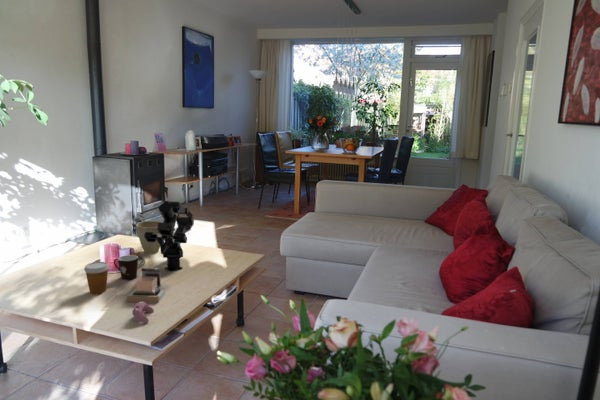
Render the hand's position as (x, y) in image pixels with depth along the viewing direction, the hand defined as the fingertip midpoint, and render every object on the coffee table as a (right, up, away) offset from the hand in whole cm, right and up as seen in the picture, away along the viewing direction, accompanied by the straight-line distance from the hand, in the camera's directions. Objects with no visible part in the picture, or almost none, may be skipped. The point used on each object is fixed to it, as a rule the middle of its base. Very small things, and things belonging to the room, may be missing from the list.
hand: (162, 253), depth 199 cm
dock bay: (-1, -16, -18) cm, 24 cm away
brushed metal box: (-1, -16, -16) cm, 23 cm away
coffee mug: (-18, -12, +5) cm, 22 cm away
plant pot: (-20, -5, +44) cm, 49 cm away
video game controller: (+4, -20, -35) cm, 41 cm away
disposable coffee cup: (-23, -15, -13) cm, 31 cm away
